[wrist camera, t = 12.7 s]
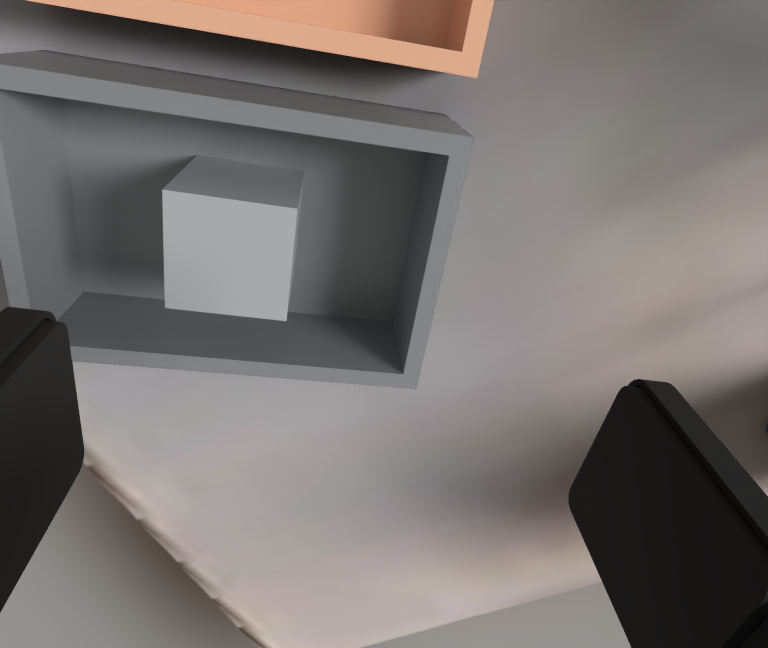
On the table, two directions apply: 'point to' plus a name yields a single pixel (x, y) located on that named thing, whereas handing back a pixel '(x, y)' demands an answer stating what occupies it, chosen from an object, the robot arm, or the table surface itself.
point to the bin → (239, 143)
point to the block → (231, 237)
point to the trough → (331, 26)
